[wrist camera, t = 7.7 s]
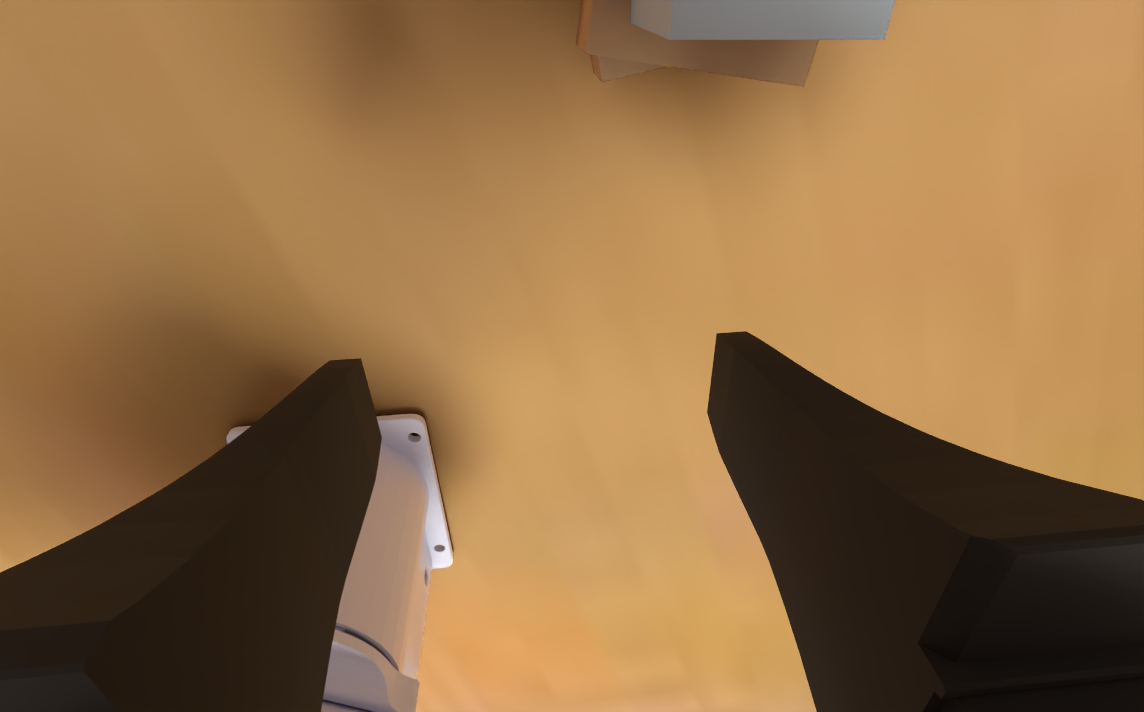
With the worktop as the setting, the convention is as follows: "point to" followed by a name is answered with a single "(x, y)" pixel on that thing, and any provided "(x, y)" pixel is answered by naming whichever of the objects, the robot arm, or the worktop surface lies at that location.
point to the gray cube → (764, 19)
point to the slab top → (690, 47)
